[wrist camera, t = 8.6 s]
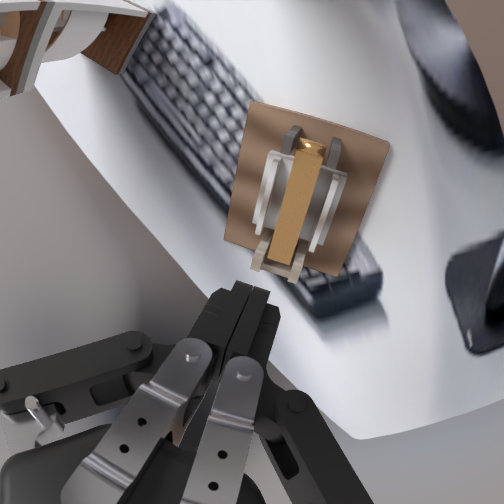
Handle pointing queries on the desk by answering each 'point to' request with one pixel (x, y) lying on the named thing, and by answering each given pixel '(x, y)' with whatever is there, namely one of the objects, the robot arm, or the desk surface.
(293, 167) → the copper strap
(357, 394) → the desk surface
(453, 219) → the desk surface
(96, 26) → the display case
